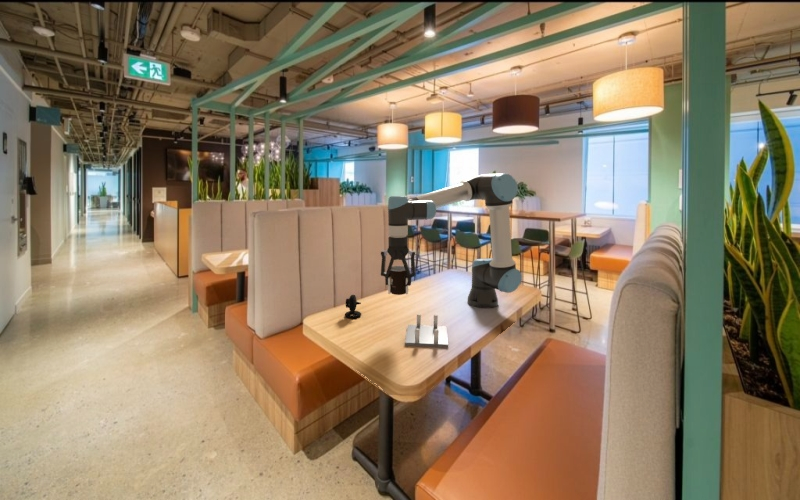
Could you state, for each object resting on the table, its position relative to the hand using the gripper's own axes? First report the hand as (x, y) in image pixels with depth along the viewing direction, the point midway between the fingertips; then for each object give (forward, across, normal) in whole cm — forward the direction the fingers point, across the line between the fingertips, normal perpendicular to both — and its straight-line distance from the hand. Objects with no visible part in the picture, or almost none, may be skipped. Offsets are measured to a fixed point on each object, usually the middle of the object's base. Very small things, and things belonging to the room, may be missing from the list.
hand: (398, 292), depth 136 cm
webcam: (+17, +23, -15) cm, 32 cm away
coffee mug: (0, 0, 0) cm, 0 cm away
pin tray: (+17, -12, +4) cm, 21 cm away
